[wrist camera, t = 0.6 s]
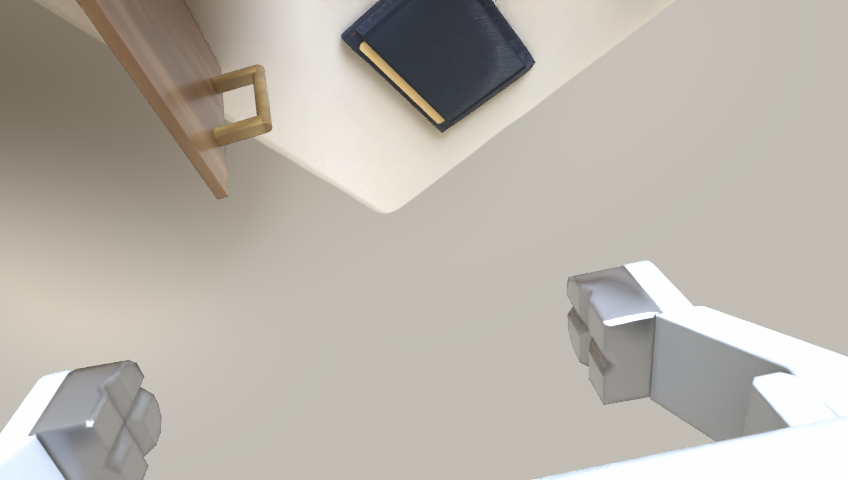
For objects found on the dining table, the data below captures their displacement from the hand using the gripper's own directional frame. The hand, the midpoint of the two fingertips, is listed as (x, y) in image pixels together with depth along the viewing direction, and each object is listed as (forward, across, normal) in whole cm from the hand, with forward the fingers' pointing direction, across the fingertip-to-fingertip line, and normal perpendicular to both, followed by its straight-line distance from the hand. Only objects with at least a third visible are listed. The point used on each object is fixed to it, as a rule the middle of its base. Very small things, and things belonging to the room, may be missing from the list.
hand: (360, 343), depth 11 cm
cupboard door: (+51, +13, -6) cm, 53 cm away
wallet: (+59, -10, +6) cm, 60 cm away
